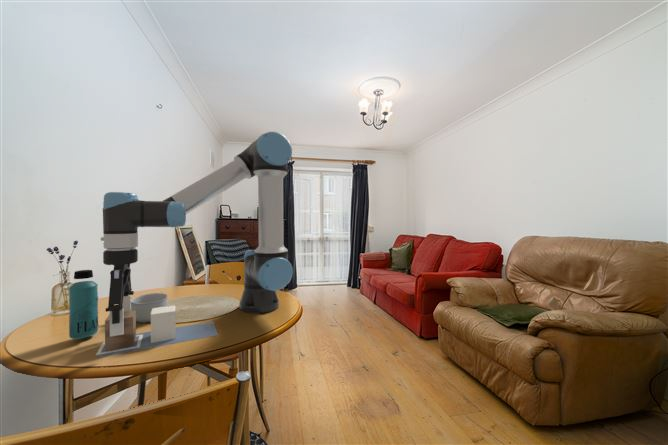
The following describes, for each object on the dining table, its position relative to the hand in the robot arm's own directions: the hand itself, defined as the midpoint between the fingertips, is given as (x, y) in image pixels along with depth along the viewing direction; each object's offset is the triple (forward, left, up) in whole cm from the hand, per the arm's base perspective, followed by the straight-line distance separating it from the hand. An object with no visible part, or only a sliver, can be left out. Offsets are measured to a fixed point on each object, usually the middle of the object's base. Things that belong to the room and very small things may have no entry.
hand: (121, 326), depth 77 cm
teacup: (-4, -20, -6) cm, 21 cm away
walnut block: (0, 0, -5) cm, 5 cm away
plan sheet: (-10, 0, -5) cm, 11 cm away
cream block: (-10, 0, -5) cm, 11 cm away
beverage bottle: (+10, -10, -6) cm, 15 cm away
